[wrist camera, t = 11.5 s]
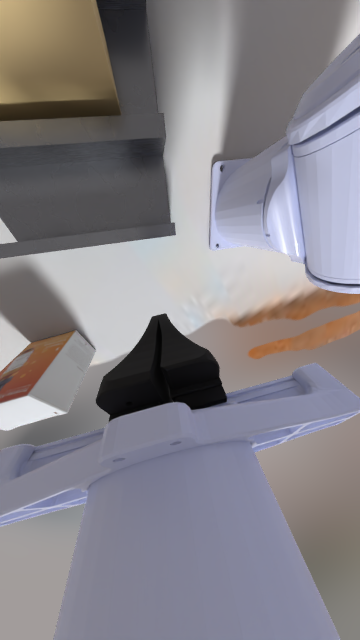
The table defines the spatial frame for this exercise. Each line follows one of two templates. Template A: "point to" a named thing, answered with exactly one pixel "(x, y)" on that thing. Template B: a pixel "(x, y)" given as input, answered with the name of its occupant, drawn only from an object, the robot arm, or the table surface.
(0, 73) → the tan rectangular block
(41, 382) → the small box
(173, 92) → the table surface
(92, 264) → the table surface
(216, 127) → the table surface
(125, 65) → the rack
